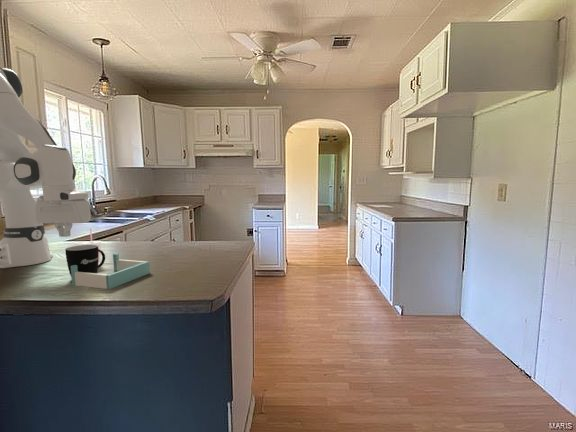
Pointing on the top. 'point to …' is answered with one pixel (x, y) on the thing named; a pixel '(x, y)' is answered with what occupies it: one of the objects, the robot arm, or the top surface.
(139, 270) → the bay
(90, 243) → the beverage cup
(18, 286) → the top surface
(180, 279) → the top surface
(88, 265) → the mug
